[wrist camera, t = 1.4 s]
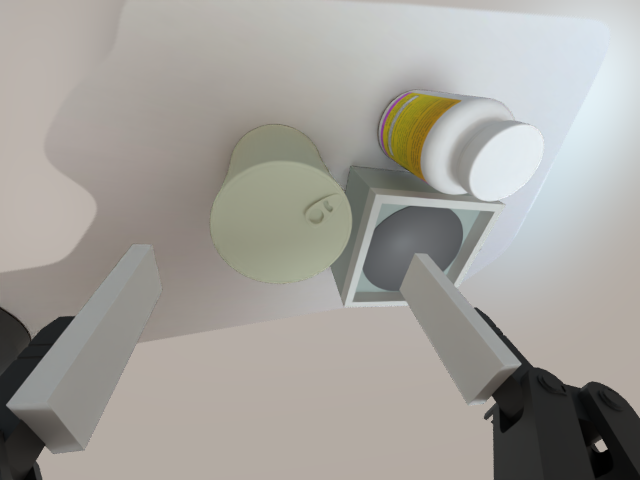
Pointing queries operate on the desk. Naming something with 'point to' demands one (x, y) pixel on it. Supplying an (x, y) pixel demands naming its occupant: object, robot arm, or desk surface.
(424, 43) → the desk surface
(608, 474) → the robot arm
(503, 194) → the supplement bottle
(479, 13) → the desk surface
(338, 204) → the can
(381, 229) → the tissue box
